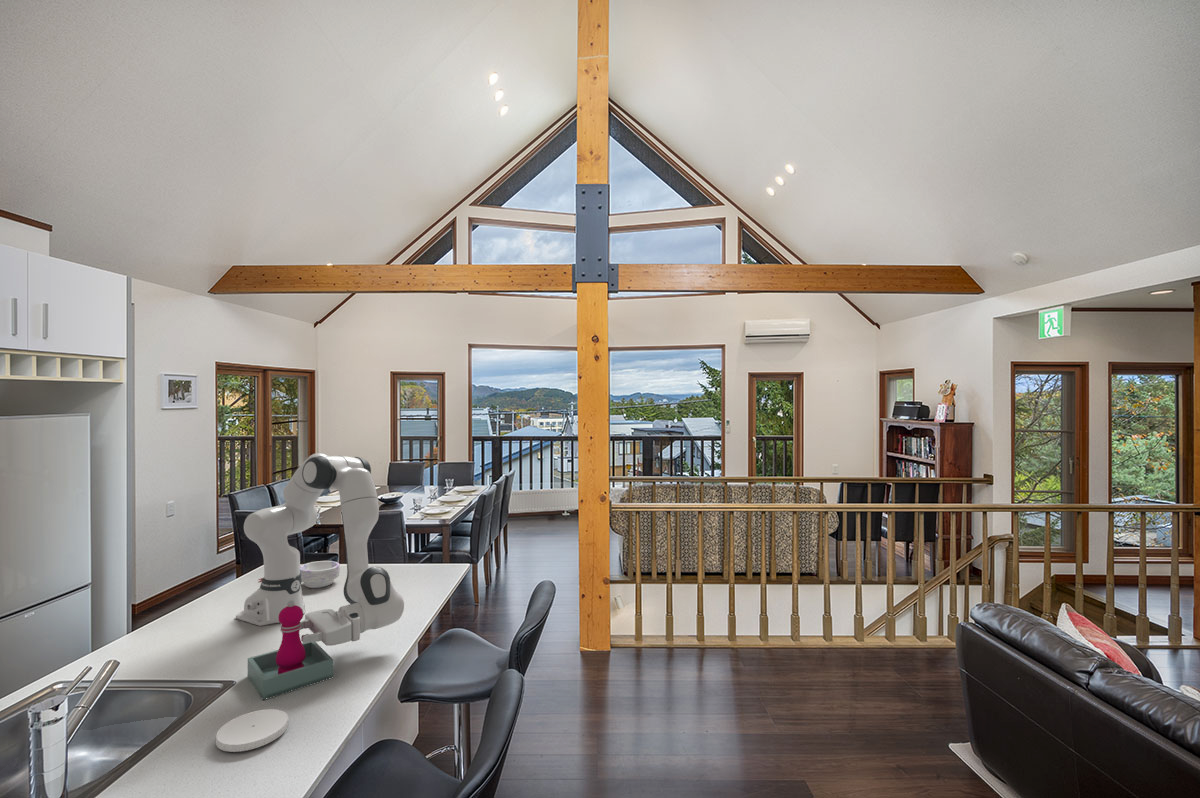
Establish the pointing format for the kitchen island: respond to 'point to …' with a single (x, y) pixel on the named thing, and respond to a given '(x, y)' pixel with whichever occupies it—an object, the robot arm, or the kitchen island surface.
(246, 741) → the plastic lid
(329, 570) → the white bowl
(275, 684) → the tote
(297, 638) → the pepper mill
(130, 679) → the kitchen island surface
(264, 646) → the kitchen island surface
